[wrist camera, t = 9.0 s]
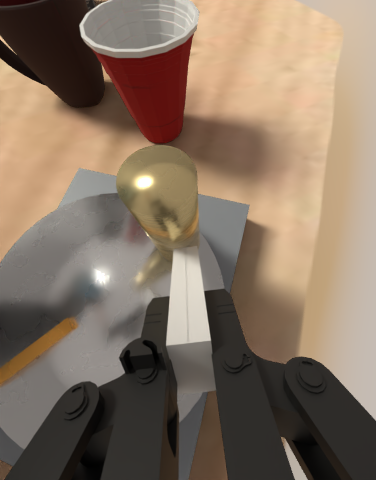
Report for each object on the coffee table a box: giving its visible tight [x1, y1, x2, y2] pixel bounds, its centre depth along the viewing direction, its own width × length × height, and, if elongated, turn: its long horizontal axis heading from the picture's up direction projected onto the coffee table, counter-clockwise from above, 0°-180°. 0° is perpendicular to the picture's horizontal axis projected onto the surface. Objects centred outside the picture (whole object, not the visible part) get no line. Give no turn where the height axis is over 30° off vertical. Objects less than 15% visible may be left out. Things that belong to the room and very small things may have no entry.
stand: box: [0, 168, 249, 480], centre depth 20 cm, size 26×20×3 cm
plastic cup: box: [79, 0, 199, 143], centre depth 24 cm, size 11×11×12 cm
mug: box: [0, 0, 105, 107], centre depth 27 cm, size 10×14×12 cm
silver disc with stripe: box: [0, 145, 225, 449], centre depth 13 cm, size 20×20×11 cm
